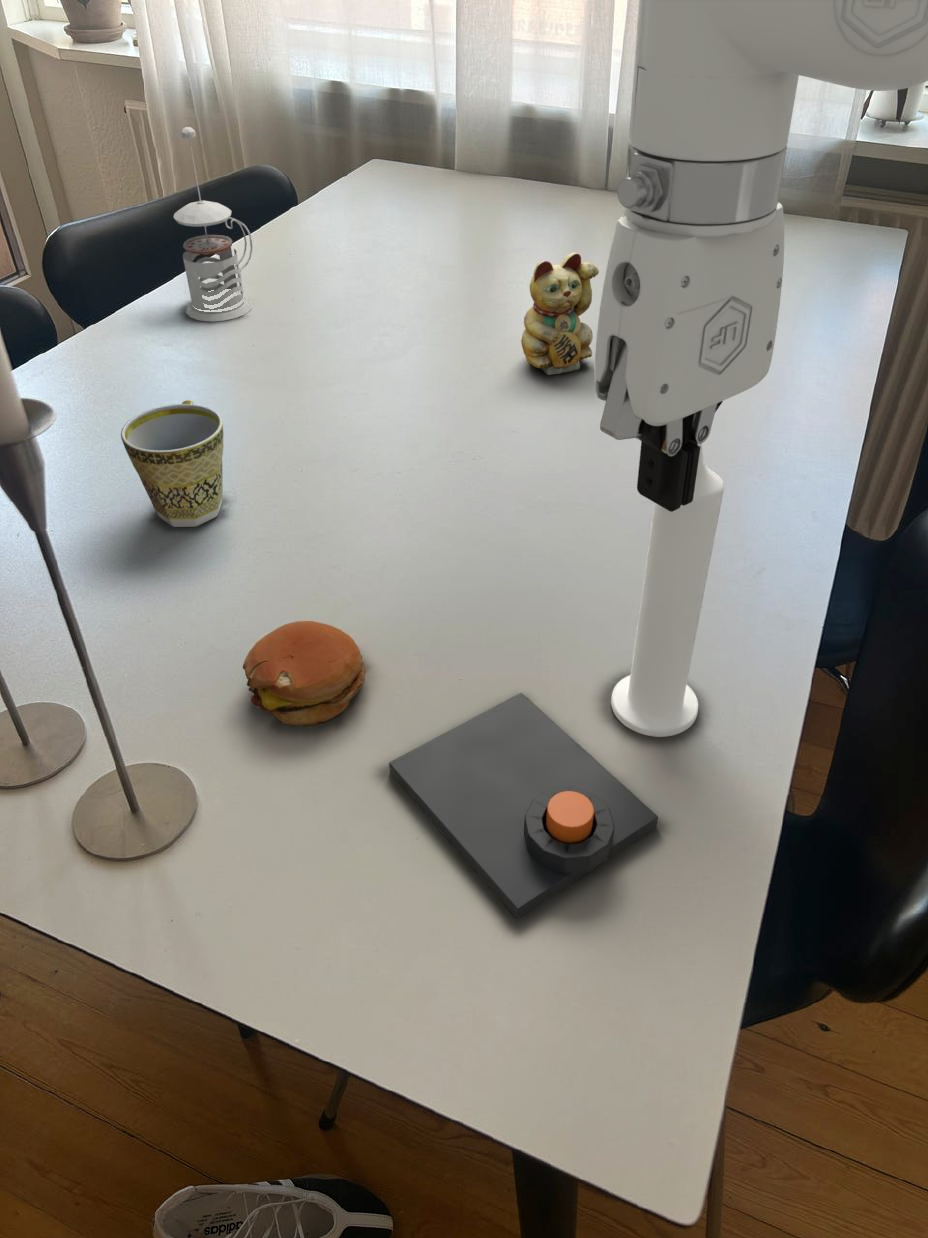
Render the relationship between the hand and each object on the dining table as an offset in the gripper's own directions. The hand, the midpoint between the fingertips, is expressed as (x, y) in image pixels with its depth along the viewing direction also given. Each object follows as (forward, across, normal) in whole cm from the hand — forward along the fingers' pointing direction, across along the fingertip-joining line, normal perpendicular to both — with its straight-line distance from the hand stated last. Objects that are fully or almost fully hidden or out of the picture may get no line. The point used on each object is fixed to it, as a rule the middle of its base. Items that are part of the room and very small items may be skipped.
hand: (664, 497), depth 59 cm
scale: (+24, -9, +3) cm, 26 cm away
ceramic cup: (+24, -11, +56) cm, 62 cm away
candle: (+25, +6, +4) cm, 26 cm away
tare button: (+22, -9, -3) cm, 24 cm away
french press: (+23, +16, +103) cm, 107 cm away
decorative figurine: (+24, +42, +58) cm, 75 cm away
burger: (+24, -16, +23) cm, 37 cm away
